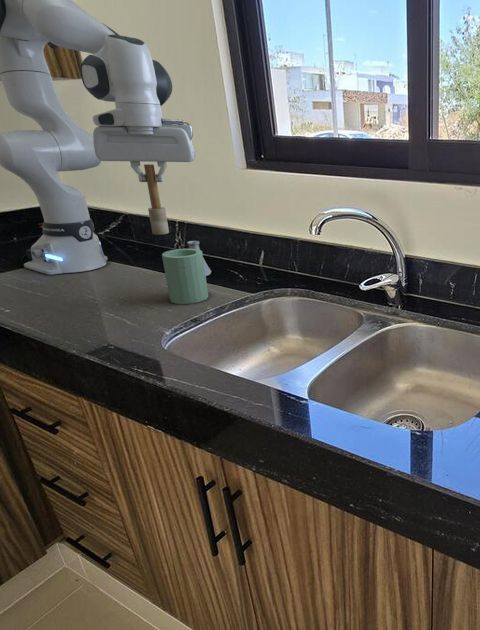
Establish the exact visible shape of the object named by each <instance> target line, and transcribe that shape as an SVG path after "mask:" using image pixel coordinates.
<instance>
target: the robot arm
mask: <svg viewBox="0 0 480 630" xmlns="http://www.w3.org/2000/svg"><path fill="white" fill-rule="evenodd" d="M46 45H48V47H50V48H51V49H52V50H54V51H55V50H57V49H59V48H63V49H68V50H71V51H77V52H83V53H87V54H88V55H87V56H86V57H85V58H84V59H83V60H82V61H81V63H80V65H79V68H80V70H79V71H80V76H81V80H82V84H83V86H84V89H86V91H87V92H88V93H89V94H90V95H91V96H92V97H94V98H95V99H97V100H99V101H103V102H110V103H112V102H113V103H114V106H115V108H114V109H111V110H107V111H104V112H101V113H96V114H95V115H93V116H92V122H93V124H94V125H95V126H96V127H95V128H94V129H93V132H92V134H91V133H89V132H87V131H86V130H84V129H83V128H81V127H80V126H79V125H78V124H77V123H76V122H75V121H74V120H73V119H72V118H71V117H70V115H69V114H68V113H67V111H66V110H65V109H64V107H63V104H62V103H61V99H60V97H59V94H58V92H57V90H56V86H55V84H54V80H53V77H52V75H51V71H50V68H49V66H48V63H47V60H46V58H45V55H44V53H45V52H44V49H45V48H46ZM0 81H1V82H2V86H3V88H4V92H5V95H6V97H7V98H6V99H7V101H8V103H9V105H10V106H11V108H13V110H15V111H16V112H17V113H19V114H21V115H23V116H25V117H28V118H30V119H32V120H33V121H35V122H36V123H37V124H38V125H39V127H40V128H41V129H42V130H40V129H39V130H38V129H37V130H36V129H34V130H33V129H27V130H26V129H15V130H8V131H5V132H0V166H1V167H2V168H3V169H5V170H6V171H8V172H10V173H11V174H14V175H16V176H17V177H19V178H20V179H21V180H22V181H24V182H25V183H26V184H27V185H28V187H29V188H30V189H31V190H32V191H33V194H34V195H35V197H36V200H37V202H38V205H39V208H40V211H41V214H42V219H43V222H41V223H38V225H39V228H42V235H41V236H40V237H39V238H38V239H37V240H36V242H34V243H33V244H32V245H31V247H30V248H29V249H26V250H25V253H24V254H23V255H22V257H21V262H25V260H26V258H27V259H28V260H29V261H27V262H25V263H23V267H24V268H26V269H28V270H33V271H35V272H38V273H41V274H45V275H49V276H50V275H58V274H59V275H60V274H71V273H82V272H88V271H92V270H97V269H100V268H103V267H104V266H106V265H107V264H108V263H107V261H108V260H109V258H108V256H106V255H105V254H104V251H103V248H102V244H101V241H100V239H99V237H98V235H97V234H96V233H95V227H94V226H95V225H94V221H93V219H92V218H91V217H90V212H89V208H88V203H87V200H86V196H85V194H84V193H83V191H82V190H80V189H79V188H78V187H75V186H73V185H71V184H69V183H64V182H63V181H61V179H60V177H59V175H58V173H59V172H71V171H72V172H76V171H85V170H88V169H89V170H90V169H93V168H96V167H98V166H100V164H101V162H129V163H130V168H131V169H132V170H133V171H134V172H135V173H136V175H137V177H138V182H139V183H147V179H146V174H145V173H144V172H143V170H141V168H140V167H141V163H142V162H143V163H146V162H151V163H156V164H157V167H158V168H159V170H158V173H155V174H154V177H155V182H157V183H164V182H165V177H164V173H165V171H166V169H167V163H191V162H194V161H195V159H196V152H195V147H194V144H193V141H192V139H193V136H194V134H193V127H192V126H191V124H190V123H189V122H187V121H185V120H184V119H172V118H164V117H163V113H162V106H163V105H164V104H165V103H166V102H167V101H168V100H169V99H170V97H171V96H172V92H173V82H172V78H171V76H170V75H169V73H168V71H167V70H166V68H165V67H164V66H163V65H162V63H160V62H159V61H158V60H154V59H153V58H152V54H151V52H150V49H149V47H148V45H147V43H146V42H144V41H143V40H141V39H139V38H136V37H131V36H126V35H120V34H119V33H117V32H116V31H115V30H113V29H112V28H110V27H109V26H108V25H106V24H105V23H103V22H102V21H100V20H99V19H97V18H96V17H94V16H93V15H91V14H90V13H88V12H87V11H86V10H85V9H83V8H82V7H81V6H79V4H77V3H75V1H73V0H0Z"/></svg>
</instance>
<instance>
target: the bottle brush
mask: <svg viewBox="0 0 480 630" xmlns="http://www.w3.org/2000/svg"><path fill="white" fill-rule="evenodd" d="M143 168H144V174H146V179H147V182H146V184H147V190H148V195H149V201H150V207H148V208H147V212H148V217H149V222H150V227H151V233H152V235H167V234H169V233H170V230H169V224H168V218H167V212H166V208H165V207H164V206H162V204H161V199H160V194H159V193H160V192H159V188H158V182H155V177H154V174H156V170H155V165H154V163H145V164H143Z"/></svg>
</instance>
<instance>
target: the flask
mask: <svg viewBox="0 0 480 630" xmlns="http://www.w3.org/2000/svg"><path fill="white" fill-rule="evenodd" d="M186 244H187V246H188V249H198V250H201V249H200V241H199V240H189V241H187V242H186ZM203 261H204V268H205V275H206V277H207V276H210V275H211V273H212V270H211V268H210V267H209V266H208V265H209V264H207V261H206V260H205V258H204V257H203Z"/></svg>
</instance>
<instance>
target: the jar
mask: <svg viewBox="0 0 480 630" xmlns="http://www.w3.org/2000/svg"><path fill="white" fill-rule="evenodd" d="M161 258H162V263H163V264H162V265H163V269H164V274H165V280H166V286H167V292H168V297H169V300H170V302H171V303H172V304H177V305H191V304H196V303H197V304H198V303H200V302H204V301H205V300H207V299H208V298H209V290H208V283H207V276H206V275H205V268H204V261H203V258H204V254H203V250H201V249H200V250H198V249H189V248H177V249H171V250H167V251H164V252H163V253H161Z"/></svg>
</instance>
